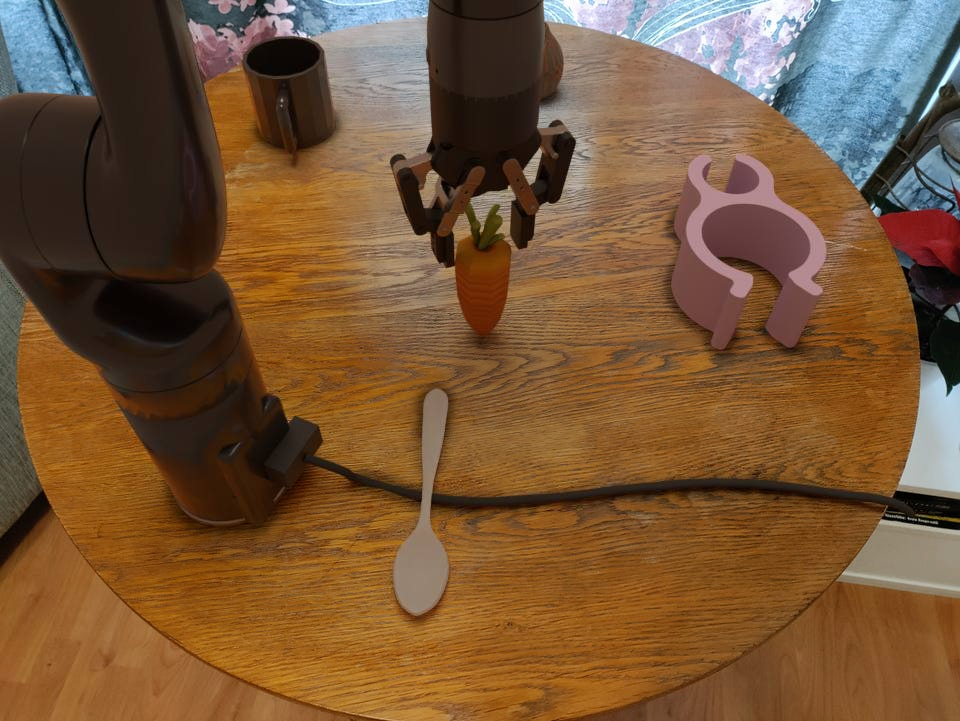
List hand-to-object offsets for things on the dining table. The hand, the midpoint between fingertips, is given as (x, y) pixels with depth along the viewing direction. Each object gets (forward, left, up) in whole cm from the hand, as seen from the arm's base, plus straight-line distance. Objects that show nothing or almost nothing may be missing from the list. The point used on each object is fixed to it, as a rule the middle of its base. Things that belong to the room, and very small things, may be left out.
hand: (483, 251), depth 63 cm
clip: (-19, -18, -11) cm, 28 cm away
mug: (+33, -19, -11) cm, 40 cm away
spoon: (-3, +17, -11) cm, 20 cm away
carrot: (0, 0, -11) cm, 11 cm away
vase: (+11, -40, -11) cm, 43 cm away
